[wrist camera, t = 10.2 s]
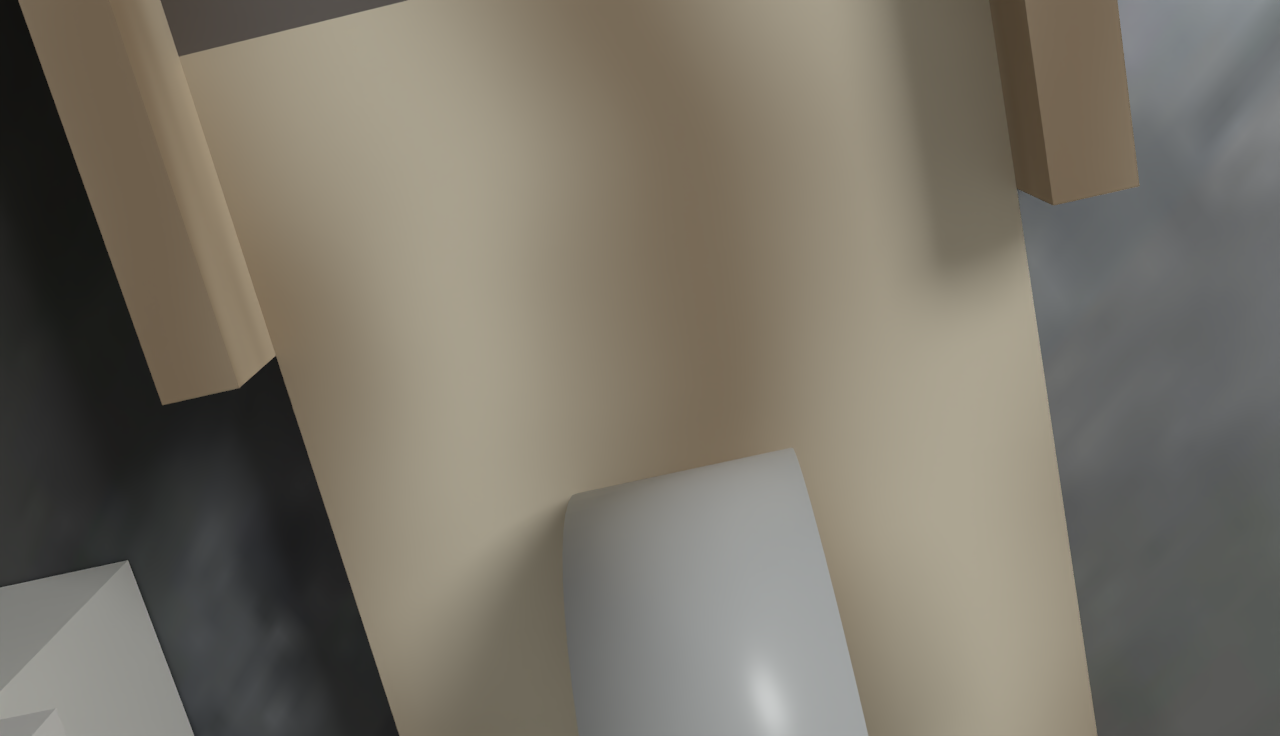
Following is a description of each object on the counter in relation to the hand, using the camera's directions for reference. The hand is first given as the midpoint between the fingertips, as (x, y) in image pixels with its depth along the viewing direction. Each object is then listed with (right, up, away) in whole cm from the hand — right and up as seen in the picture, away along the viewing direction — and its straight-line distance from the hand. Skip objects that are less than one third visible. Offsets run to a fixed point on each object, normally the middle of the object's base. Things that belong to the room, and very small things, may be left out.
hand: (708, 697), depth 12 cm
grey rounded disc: (+1, -1, +7) cm, 7 cm away
